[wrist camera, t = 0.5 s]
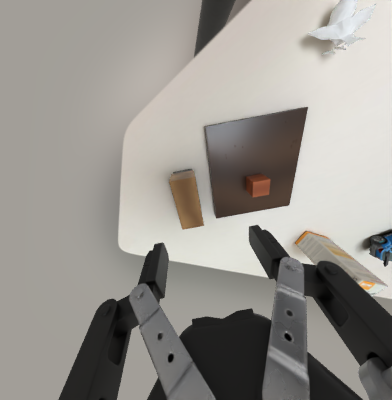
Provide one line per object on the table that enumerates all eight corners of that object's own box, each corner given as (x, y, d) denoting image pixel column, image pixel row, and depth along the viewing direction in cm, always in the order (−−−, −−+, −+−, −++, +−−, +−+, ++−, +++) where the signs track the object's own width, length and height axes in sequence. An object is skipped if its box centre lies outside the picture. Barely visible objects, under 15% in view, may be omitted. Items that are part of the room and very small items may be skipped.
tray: (204, 126, 23) (205, 126, 22) (302, 107, 22) (308, 106, 21) (215, 215, 32) (216, 218, 30) (285, 202, 31) (289, 205, 30)
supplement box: (293, 243, 38) (340, 295, 27) (305, 230, 36) (362, 280, 24) (315, 249, 40) (368, 300, 28) (328, 237, 38) (390, 286, 26)
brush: (182, 212, 31) (182, 229, 26) (171, 170, 26) (169, 181, 21) (200, 209, 30) (203, 225, 26) (193, 166, 26) (195, 176, 21)
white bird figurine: (374, -19, 16) (424, -33, 13) (351, 39, 20) (387, 39, 17) (303, 12, 17) (336, 7, 14) (294, 63, 20) (318, 67, 17)
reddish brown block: (246, 176, 26) (253, 182, 24) (262, 173, 26) (270, 179, 24) (246, 190, 28) (252, 197, 25) (261, 187, 28) (269, 194, 25)
